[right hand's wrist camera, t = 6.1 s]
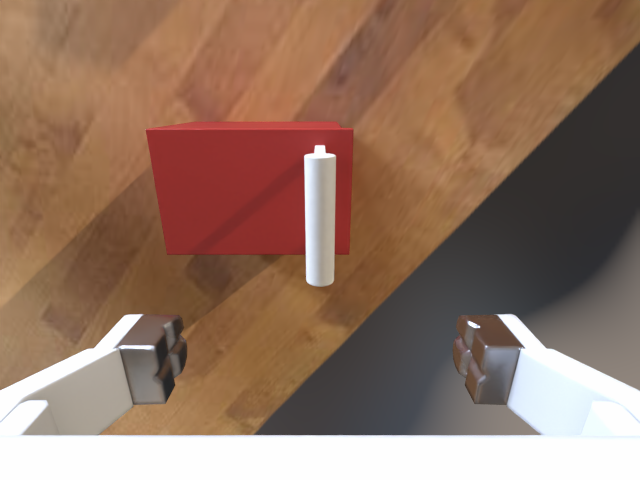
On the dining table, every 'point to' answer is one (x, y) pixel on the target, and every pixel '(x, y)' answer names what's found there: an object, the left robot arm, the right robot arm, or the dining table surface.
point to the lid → (255, 192)
